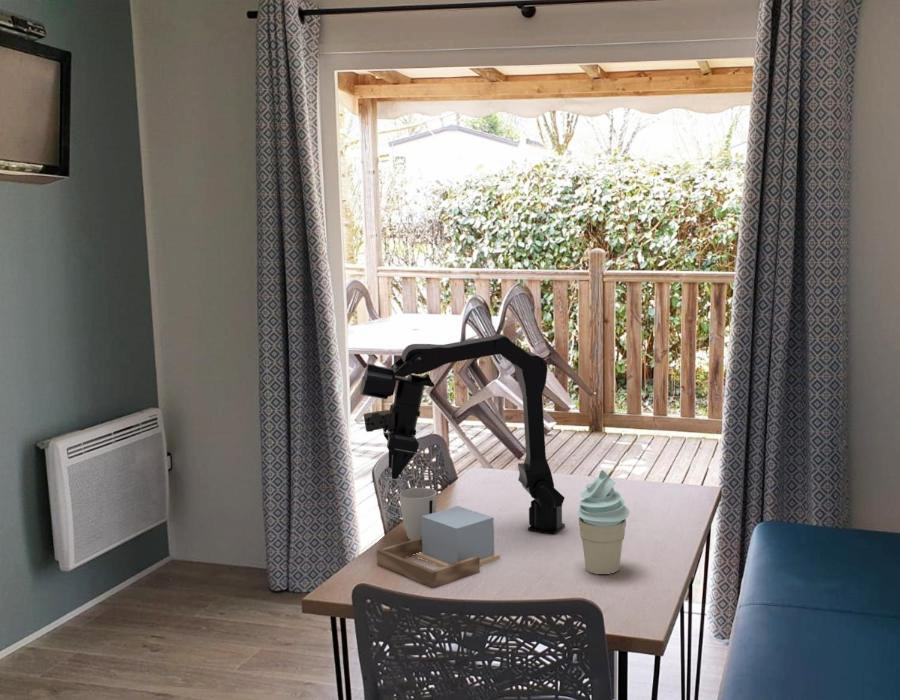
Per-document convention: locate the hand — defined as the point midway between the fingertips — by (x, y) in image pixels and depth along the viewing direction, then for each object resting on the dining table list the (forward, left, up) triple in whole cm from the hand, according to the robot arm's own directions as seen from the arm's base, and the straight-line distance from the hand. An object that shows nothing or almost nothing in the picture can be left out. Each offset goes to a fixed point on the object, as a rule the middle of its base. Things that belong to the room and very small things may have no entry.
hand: (392, 473), depth 214 cm
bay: (-14, +11, -15) cm, 24 cm away
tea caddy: (-17, +3, -15) cm, 23 cm away
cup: (-3, -5, -15) cm, 17 cm away
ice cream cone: (-46, -4, -15) cm, 49 cm away
